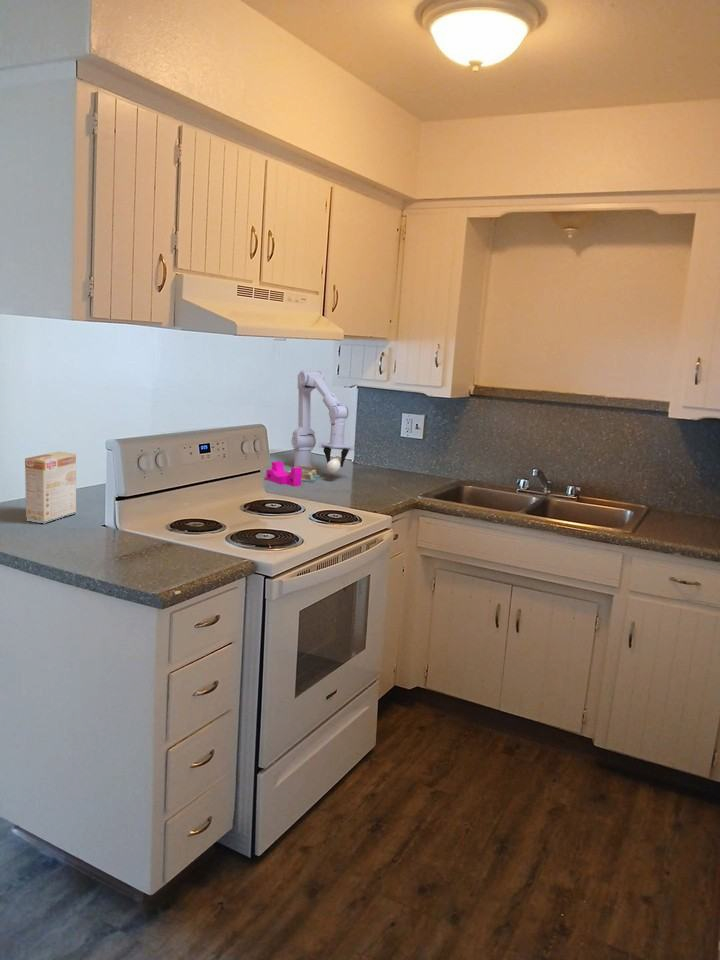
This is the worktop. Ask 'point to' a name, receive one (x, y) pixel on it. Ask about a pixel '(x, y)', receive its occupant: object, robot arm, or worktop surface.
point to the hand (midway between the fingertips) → (335, 466)
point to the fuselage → (334, 464)
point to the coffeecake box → (50, 485)
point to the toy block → (284, 474)
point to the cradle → (308, 473)
